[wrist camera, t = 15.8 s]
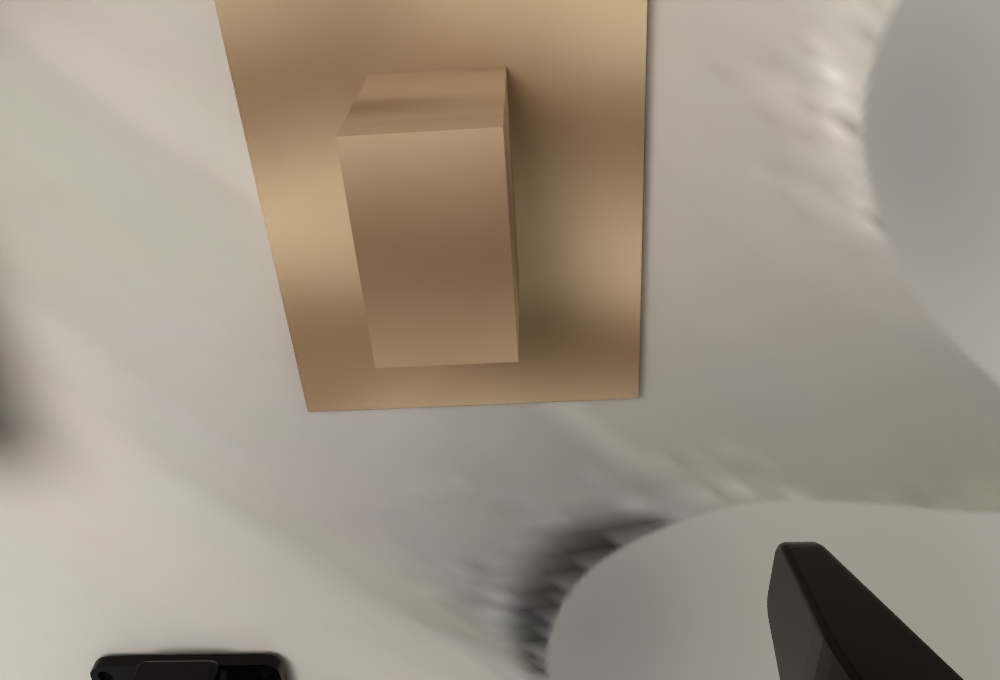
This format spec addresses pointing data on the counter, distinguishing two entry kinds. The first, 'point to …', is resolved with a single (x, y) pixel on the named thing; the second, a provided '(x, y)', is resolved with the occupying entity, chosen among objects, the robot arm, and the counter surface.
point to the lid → (449, 193)
